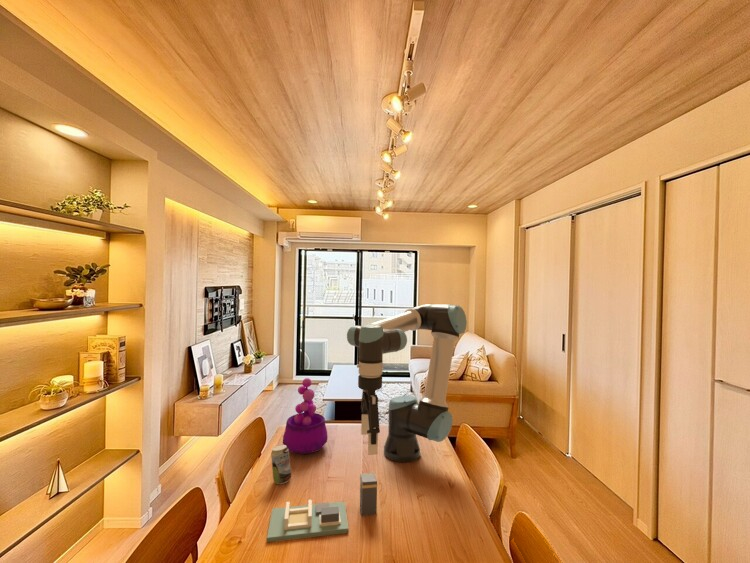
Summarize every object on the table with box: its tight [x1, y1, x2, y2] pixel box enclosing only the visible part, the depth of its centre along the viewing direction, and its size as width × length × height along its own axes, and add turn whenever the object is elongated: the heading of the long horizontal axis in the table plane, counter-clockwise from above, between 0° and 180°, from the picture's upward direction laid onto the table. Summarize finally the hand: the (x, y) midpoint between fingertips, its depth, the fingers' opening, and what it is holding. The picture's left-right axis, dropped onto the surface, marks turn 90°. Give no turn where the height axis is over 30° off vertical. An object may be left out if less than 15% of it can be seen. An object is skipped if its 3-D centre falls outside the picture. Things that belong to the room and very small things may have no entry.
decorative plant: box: [282, 377, 328, 455], centre depth 141 cm, size 19×19×30 cm
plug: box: [359, 472, 378, 517], centre depth 102 cm, size 5×5×10 cm
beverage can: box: [270, 444, 292, 485], centre depth 117 cm, size 6×7×12 cm
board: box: [266, 499, 350, 543], centre depth 96 cm, size 22×12×4 cm, turn 101°
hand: (368, 443), depth 103 cm, fingers open, 13 cm apart
